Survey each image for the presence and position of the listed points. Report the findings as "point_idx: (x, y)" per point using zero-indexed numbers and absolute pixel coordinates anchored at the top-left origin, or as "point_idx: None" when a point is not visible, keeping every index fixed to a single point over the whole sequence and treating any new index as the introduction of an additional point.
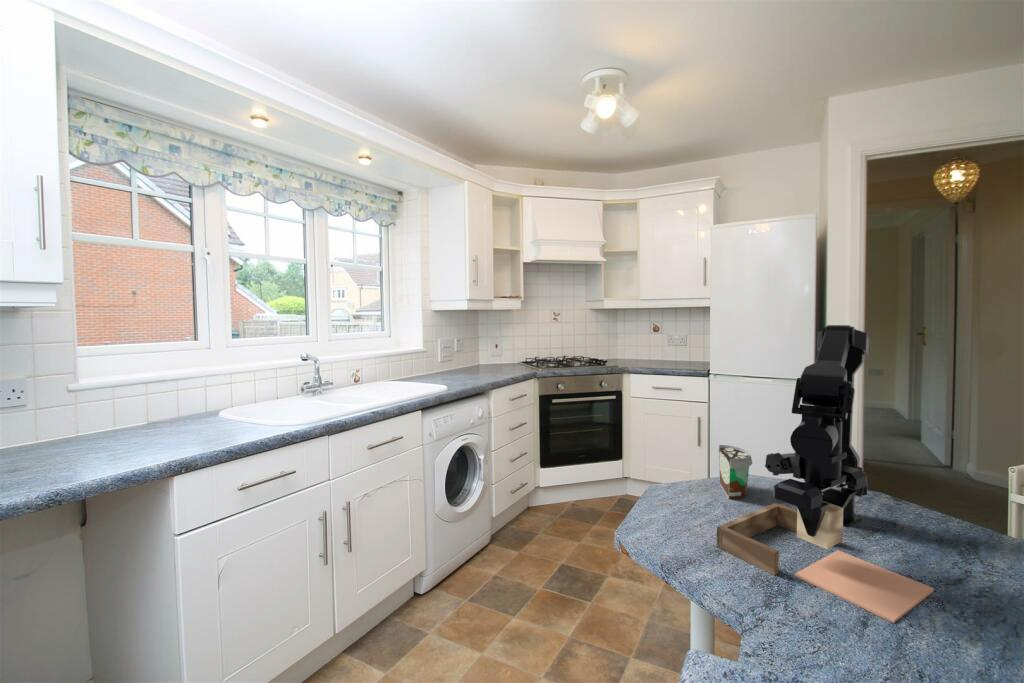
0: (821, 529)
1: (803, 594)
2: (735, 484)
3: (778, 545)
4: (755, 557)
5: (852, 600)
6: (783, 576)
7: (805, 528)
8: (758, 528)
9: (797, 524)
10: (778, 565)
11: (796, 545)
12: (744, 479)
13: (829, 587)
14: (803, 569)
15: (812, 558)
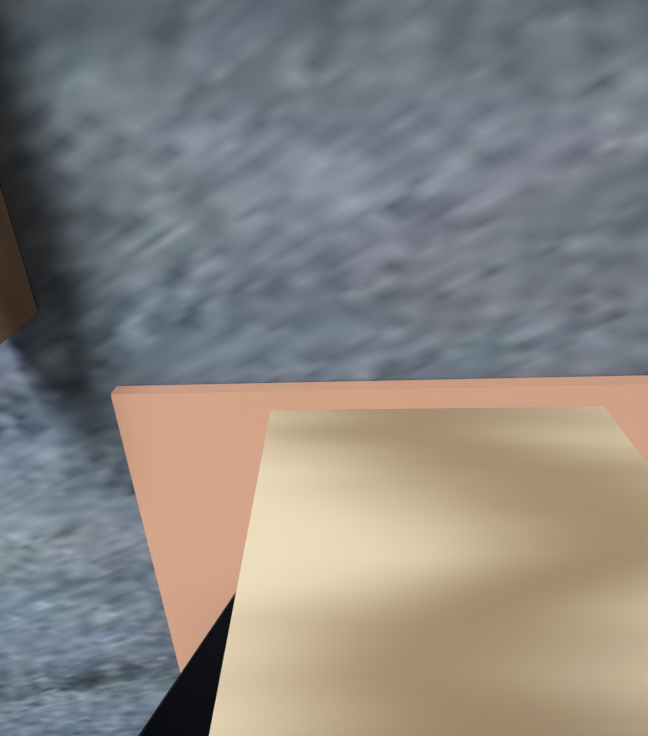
0: None
1: (7, 495)
2: None
3: (446, 30)
4: None
5: (172, 632)
6: (42, 350)
7: (207, 635)
8: None
9: (253, 523)
10: (9, 336)
11: (584, 134)
12: None
13: (174, 548)
14: (214, 395)
15: (454, 326)
